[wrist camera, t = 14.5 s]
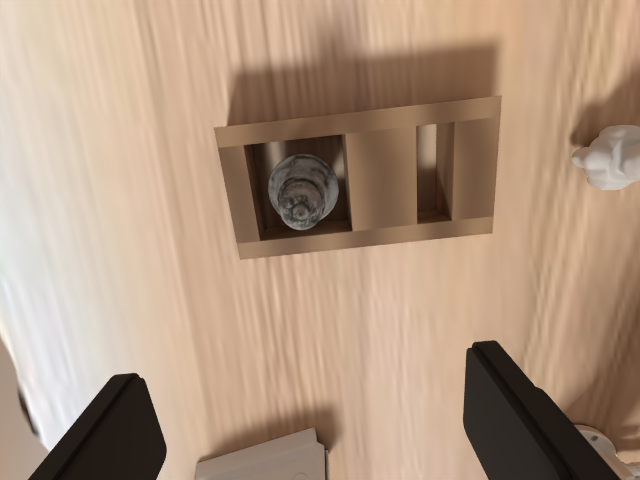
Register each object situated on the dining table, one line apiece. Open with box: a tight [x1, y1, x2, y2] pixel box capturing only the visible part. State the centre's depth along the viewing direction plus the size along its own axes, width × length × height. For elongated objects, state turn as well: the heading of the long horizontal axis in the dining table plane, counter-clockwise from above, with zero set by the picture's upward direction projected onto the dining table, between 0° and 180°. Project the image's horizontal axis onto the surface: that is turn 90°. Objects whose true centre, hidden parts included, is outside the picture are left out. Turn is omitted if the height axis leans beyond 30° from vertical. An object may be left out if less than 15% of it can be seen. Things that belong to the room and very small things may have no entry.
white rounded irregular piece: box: [572, 125, 640, 190], centre depth 27 cm, size 5×7×8 cm
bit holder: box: [214, 96, 502, 260], centre depth 29 cm, size 22×11×4 cm, turn 96°
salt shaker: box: [268, 154, 339, 230], centre depth 26 cm, size 6×6×12 cm
